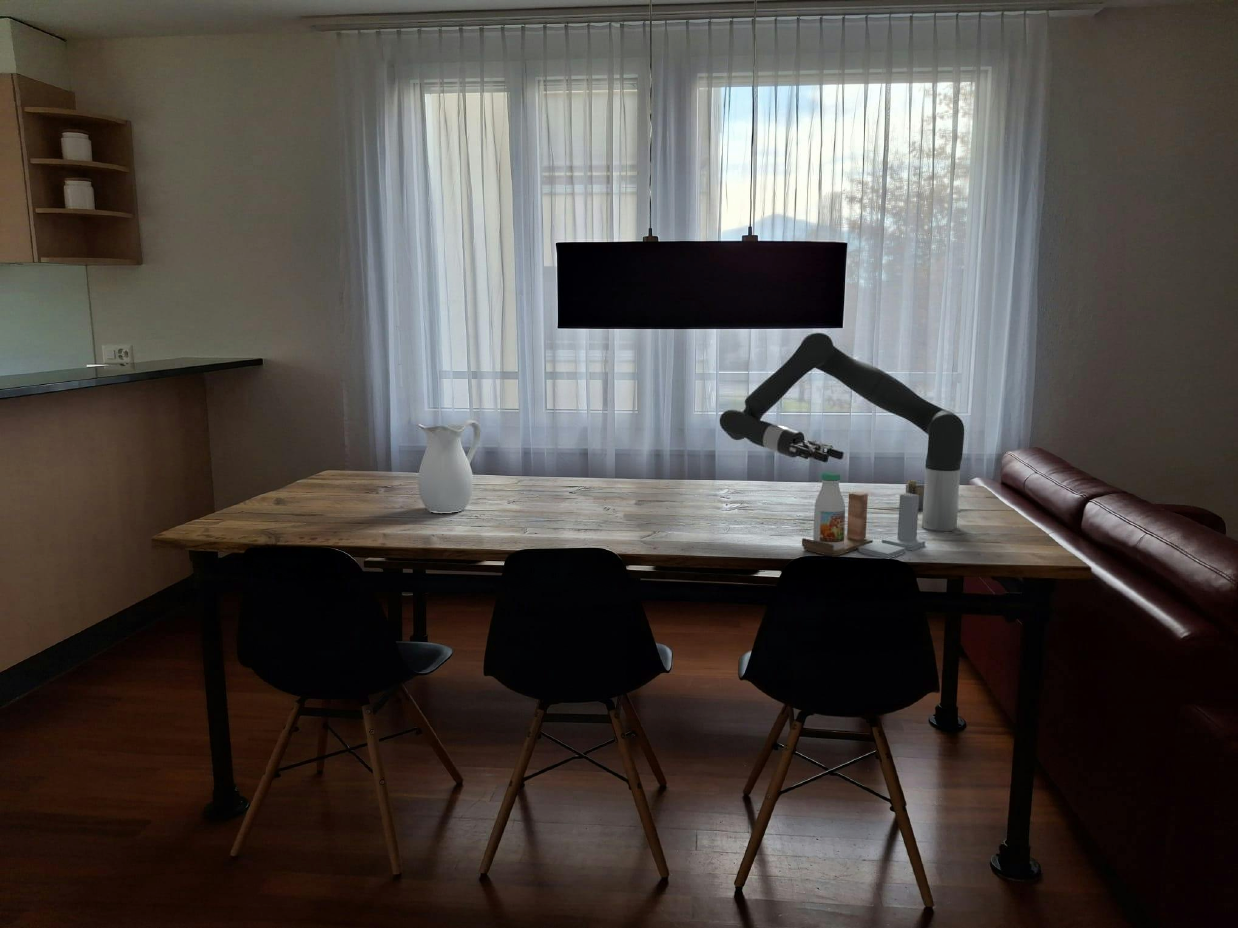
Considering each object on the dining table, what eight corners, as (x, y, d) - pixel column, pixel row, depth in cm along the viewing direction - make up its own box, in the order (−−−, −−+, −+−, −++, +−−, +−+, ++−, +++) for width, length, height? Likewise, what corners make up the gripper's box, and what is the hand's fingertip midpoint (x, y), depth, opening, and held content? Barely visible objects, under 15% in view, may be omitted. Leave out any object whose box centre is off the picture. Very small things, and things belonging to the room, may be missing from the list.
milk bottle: (808, 550, 216) (810, 474, 213) (819, 544, 222) (822, 470, 219) (837, 555, 212) (840, 476, 209) (848, 548, 218) (850, 472, 215)
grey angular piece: (895, 539, 228) (898, 491, 226) (924, 545, 222) (928, 496, 219) (858, 551, 216) (860, 501, 214) (888, 558, 210) (891, 506, 208)
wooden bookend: (845, 536, 230) (847, 490, 228) (874, 543, 223) (877, 495, 221) (801, 549, 217) (803, 500, 215) (831, 557, 210) (833, 506, 208)
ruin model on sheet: (907, 509, 265) (909, 479, 263) (904, 507, 268) (906, 477, 266) (944, 510, 264) (946, 480, 263) (941, 508, 267) (943, 478, 266)
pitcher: (444, 519, 252) (440, 427, 248) (407, 511, 262) (403, 423, 258) (500, 505, 271) (498, 419, 266) (465, 498, 281) (462, 415, 276)
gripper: (773, 429, 229) (826, 446, 219) (799, 426, 239) (850, 442, 229) (767, 455, 231) (819, 473, 221) (793, 451, 241) (844, 468, 231)
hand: (835, 457), depth 225 cm, fingers open, 8 cm apart
